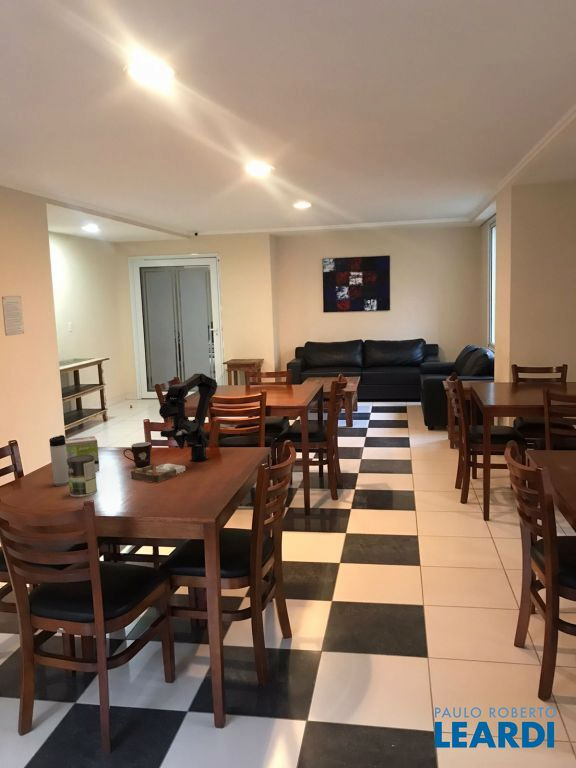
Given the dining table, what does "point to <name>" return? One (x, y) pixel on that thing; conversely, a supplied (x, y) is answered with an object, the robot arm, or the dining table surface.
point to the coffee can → (82, 475)
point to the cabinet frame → (151, 474)
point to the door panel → (170, 468)
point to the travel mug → (59, 460)
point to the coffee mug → (140, 454)
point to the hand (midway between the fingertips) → (181, 448)
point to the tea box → (83, 448)
